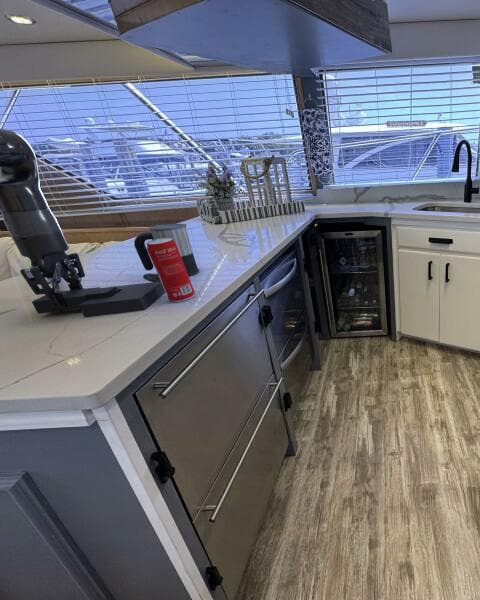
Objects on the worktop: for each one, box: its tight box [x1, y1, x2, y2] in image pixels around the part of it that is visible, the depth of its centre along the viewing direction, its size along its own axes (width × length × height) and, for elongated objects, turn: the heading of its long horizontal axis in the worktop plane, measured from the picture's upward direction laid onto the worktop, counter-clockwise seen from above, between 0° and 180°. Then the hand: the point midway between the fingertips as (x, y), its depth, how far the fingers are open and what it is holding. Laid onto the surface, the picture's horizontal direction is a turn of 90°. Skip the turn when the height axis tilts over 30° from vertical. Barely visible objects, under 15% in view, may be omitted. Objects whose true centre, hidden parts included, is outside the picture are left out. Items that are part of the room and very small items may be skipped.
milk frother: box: [133, 223, 200, 283], centre depth 93 cm, size 14×16×15 cm
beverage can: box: [146, 238, 196, 303], centre depth 77 cm, size 6×6×15 cm
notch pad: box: [79, 281, 166, 318], centre depth 78 cm, size 12×12×3 cm
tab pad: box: [31, 285, 119, 315], centre depth 76 cm, size 14×6×3 cm, turn 104°
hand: (71, 302), depth 76 cm, fingers closed on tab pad, 6 cm apart
